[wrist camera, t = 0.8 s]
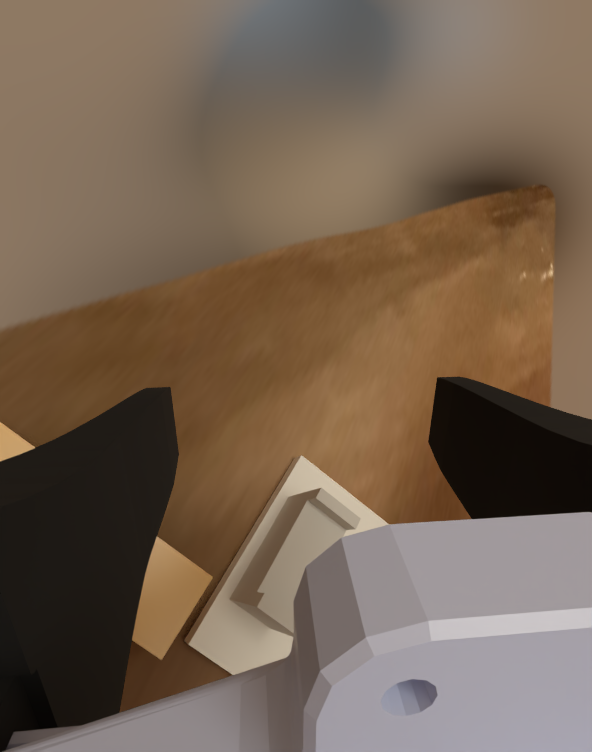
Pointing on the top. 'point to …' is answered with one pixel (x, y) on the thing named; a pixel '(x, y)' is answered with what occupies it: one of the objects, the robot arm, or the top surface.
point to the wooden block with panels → (148, 579)
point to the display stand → (275, 569)
